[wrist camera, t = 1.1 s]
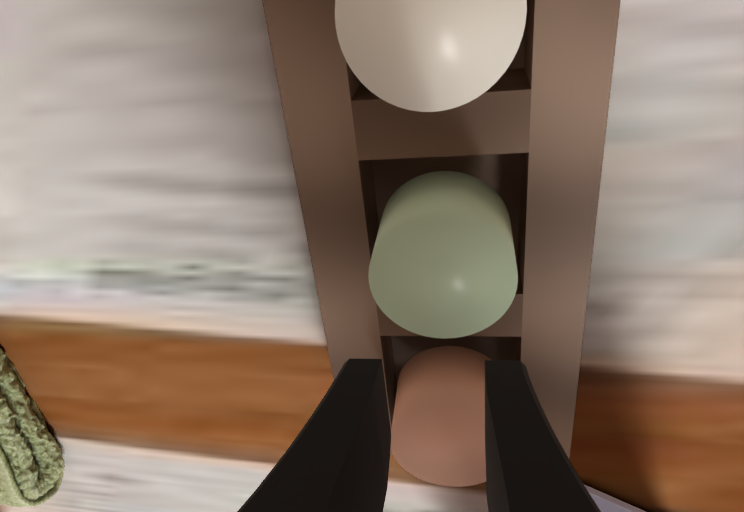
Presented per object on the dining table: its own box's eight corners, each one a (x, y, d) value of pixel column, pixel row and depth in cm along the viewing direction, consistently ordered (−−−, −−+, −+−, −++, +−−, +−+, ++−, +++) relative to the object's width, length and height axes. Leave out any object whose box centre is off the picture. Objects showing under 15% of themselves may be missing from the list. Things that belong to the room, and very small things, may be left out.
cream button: (514, 73, 14) (523, 106, 11) (364, 84, 14) (347, 117, 12) (518, -106, 12) (530, -106, 10) (345, -85, 12) (321, -81, 10)
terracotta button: (506, 426, 20) (511, 489, 18) (402, 423, 20) (395, 483, 18) (508, 346, 18) (513, 406, 16) (393, 345, 19) (384, 403, 16)
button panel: (557, 399, 23) (569, 462, 20) (359, 394, 24) (347, 453, 22) (611, -207, 13) (646, -231, 10) (271, -157, 14) (230, -168, 12)
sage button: (509, 282, 17) (515, 338, 15) (386, 284, 17) (376, 338, 15) (511, 167, 15) (520, 213, 13) (374, 173, 15) (360, 217, 13)
